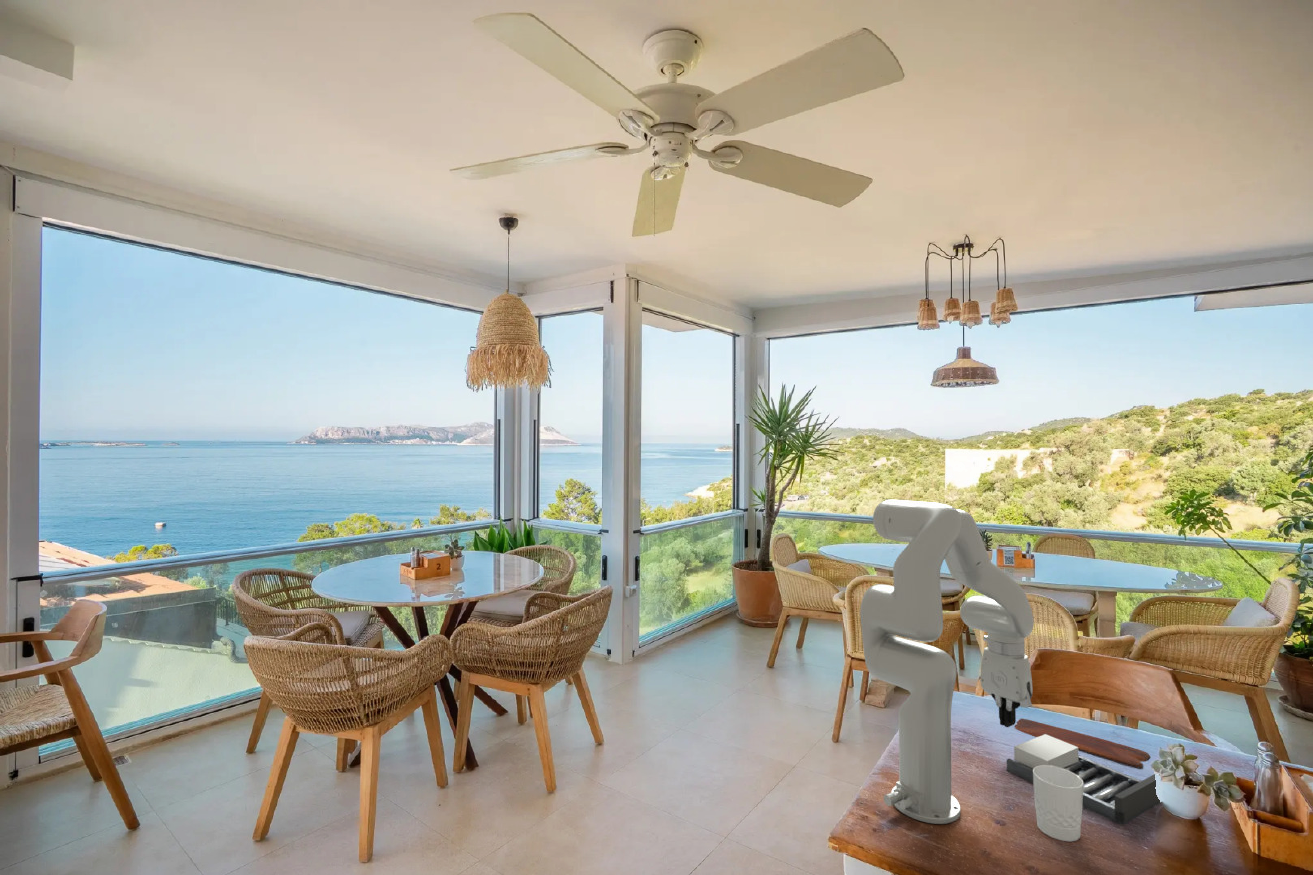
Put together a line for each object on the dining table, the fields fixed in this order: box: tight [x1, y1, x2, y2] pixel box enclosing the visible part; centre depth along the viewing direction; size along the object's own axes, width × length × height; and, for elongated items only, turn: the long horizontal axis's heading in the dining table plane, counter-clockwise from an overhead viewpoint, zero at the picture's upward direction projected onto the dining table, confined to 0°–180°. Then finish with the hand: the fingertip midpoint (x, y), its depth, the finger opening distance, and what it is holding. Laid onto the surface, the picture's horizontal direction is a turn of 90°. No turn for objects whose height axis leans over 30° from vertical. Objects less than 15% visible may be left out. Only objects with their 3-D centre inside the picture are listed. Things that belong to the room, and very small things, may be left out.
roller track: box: [1006, 754, 1161, 826], centre depth 128 cm, size 16×22×5 cm
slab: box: [1013, 734, 1079, 768], centre depth 134 cm, size 12×7×3 cm, turn 119°
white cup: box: [1032, 765, 1084, 842], centre depth 113 cm, size 8×8×10 cm
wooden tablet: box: [1014, 718, 1151, 769], centre depth 147 cm, size 27×10×2 cm, turn 42°
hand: (1007, 724), depth 142 cm, fingers closed
